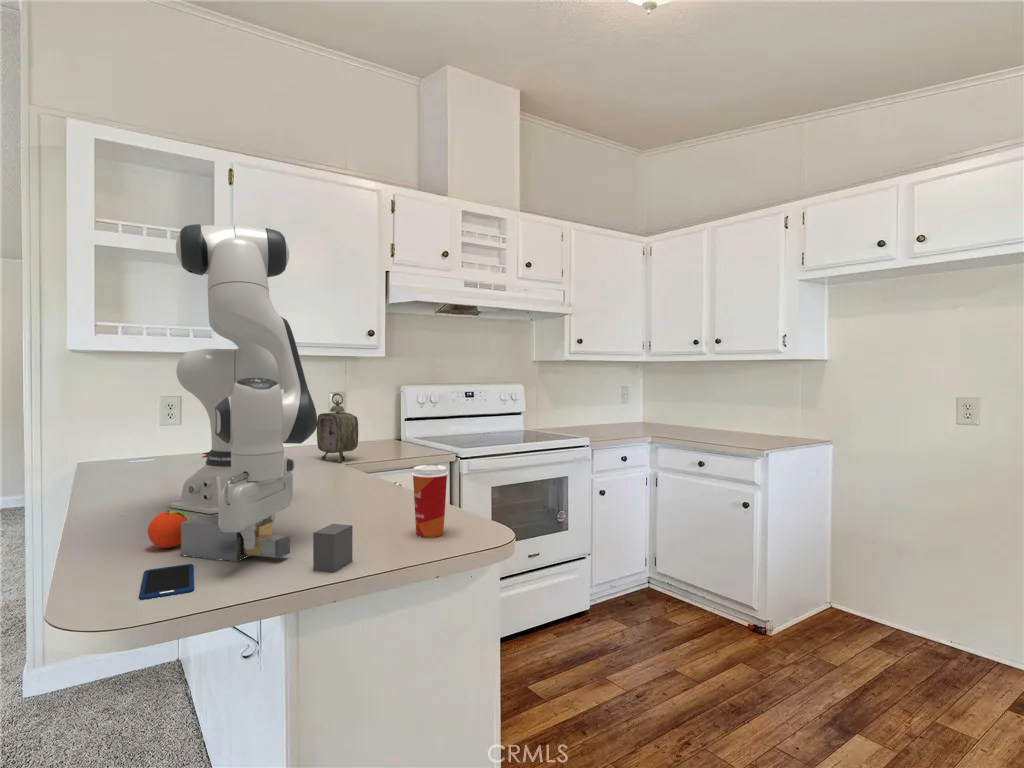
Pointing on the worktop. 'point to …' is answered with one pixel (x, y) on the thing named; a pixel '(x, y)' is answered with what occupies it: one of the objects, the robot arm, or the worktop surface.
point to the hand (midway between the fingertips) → (258, 543)
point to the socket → (332, 547)
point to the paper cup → (429, 499)
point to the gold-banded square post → (267, 542)
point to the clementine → (166, 529)
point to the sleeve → (209, 539)
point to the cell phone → (167, 581)
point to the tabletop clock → (337, 431)
